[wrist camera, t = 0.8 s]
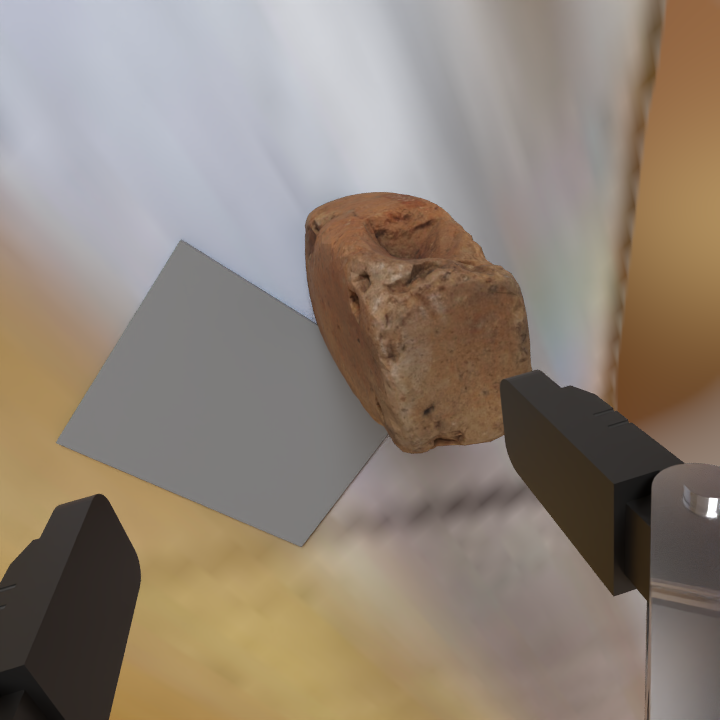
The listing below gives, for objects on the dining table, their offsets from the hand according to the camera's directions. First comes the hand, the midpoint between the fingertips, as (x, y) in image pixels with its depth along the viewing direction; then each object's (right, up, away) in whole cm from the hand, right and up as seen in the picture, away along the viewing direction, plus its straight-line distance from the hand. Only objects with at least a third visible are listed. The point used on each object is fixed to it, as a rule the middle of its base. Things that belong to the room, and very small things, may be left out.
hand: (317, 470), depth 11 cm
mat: (-8, -2, +32) cm, 33 cm away
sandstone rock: (0, +9, +29) cm, 31 cm away
